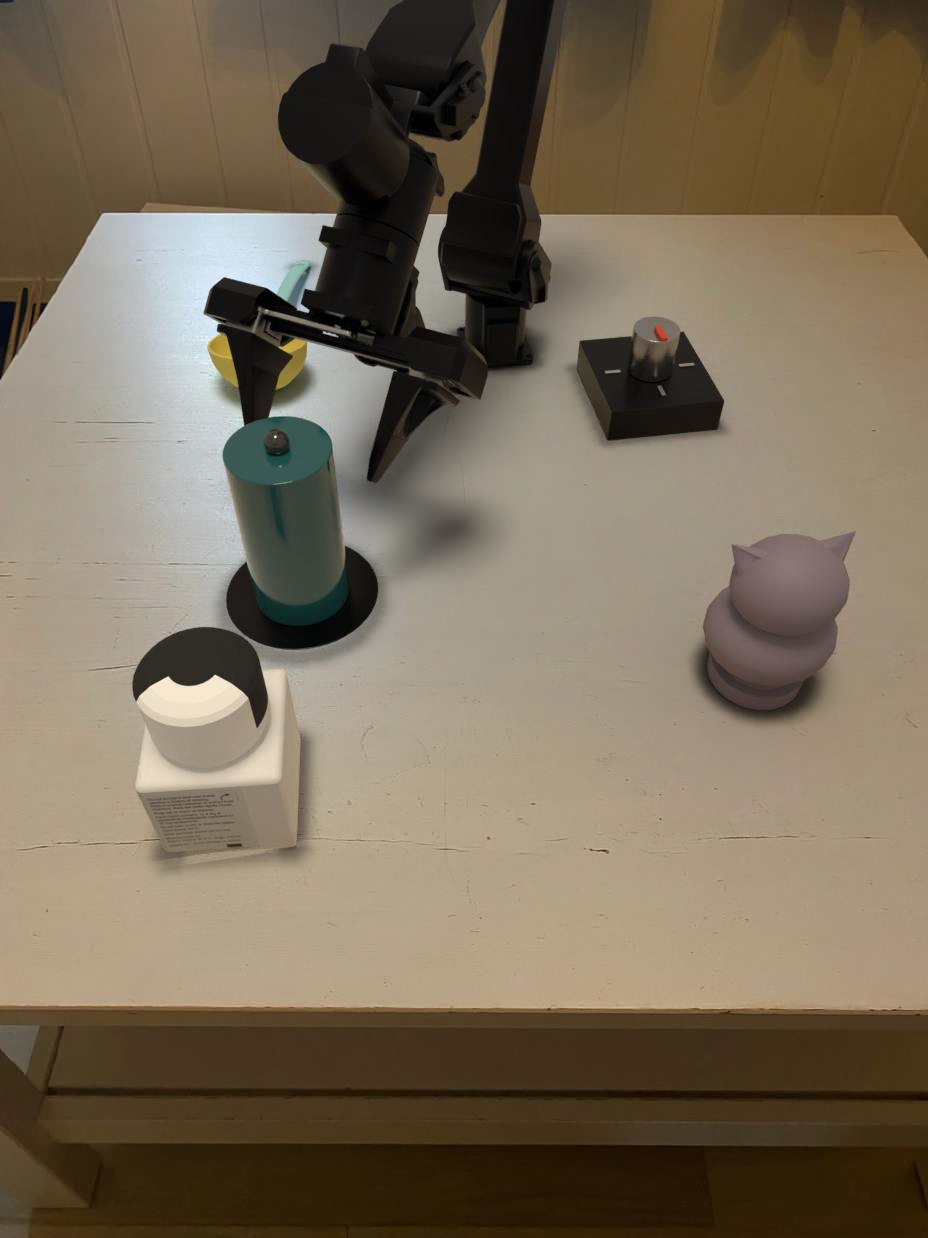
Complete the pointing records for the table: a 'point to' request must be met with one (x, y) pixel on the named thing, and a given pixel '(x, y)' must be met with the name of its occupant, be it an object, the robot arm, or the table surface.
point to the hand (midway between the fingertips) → (310, 463)
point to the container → (216, 744)
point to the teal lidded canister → (289, 518)
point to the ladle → (296, 347)
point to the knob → (653, 349)
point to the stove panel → (647, 391)
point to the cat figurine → (776, 618)
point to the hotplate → (309, 636)
